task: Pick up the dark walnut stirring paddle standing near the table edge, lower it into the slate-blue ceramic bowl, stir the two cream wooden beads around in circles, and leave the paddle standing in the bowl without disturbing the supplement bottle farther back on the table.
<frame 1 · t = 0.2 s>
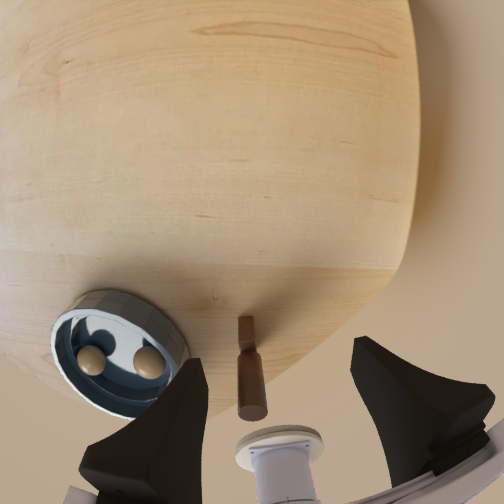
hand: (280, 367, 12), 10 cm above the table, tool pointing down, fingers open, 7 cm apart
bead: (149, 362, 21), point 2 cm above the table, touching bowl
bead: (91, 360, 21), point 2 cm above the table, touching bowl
stir paddle: (247, 333, 23), on the table
bowl: (125, 348, 23), on the table
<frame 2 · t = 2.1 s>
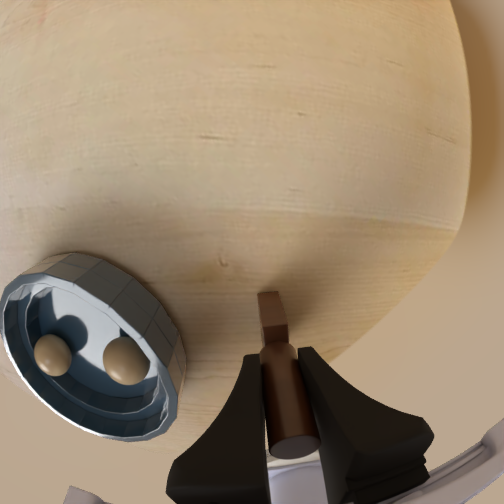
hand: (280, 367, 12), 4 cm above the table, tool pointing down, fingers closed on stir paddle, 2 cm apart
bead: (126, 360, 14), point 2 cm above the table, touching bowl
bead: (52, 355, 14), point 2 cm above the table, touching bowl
stir paddle: (269, 319, 16), on the table, touching gripper
bowl: (97, 341, 16), on the table
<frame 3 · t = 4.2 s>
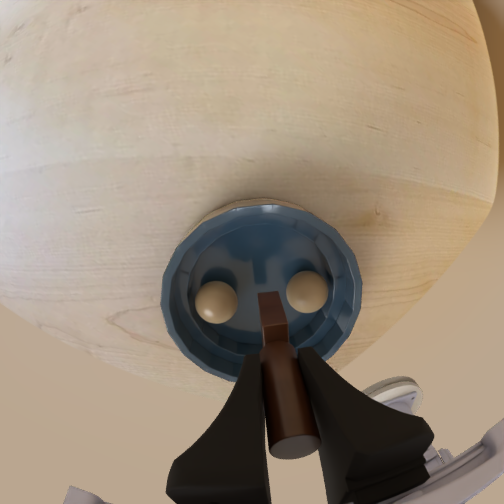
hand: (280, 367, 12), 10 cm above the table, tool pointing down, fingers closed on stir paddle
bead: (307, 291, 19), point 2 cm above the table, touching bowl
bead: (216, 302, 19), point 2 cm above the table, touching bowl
stir paddle: (269, 318, 16), point 5 cm above the table, touching gripper
bowl: (259, 285, 21), on the table
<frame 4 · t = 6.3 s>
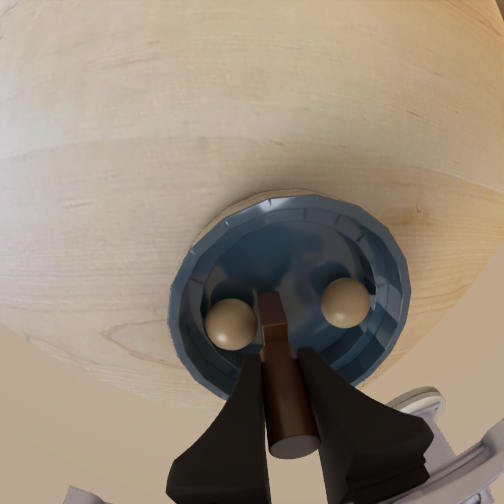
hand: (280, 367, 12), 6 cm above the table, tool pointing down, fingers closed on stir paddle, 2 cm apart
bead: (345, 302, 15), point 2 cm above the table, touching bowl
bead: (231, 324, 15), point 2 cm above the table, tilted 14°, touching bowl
stir paddle: (269, 318, 16), point 2 cm above the table, touching gripper
bowl: (286, 294, 17), on the table
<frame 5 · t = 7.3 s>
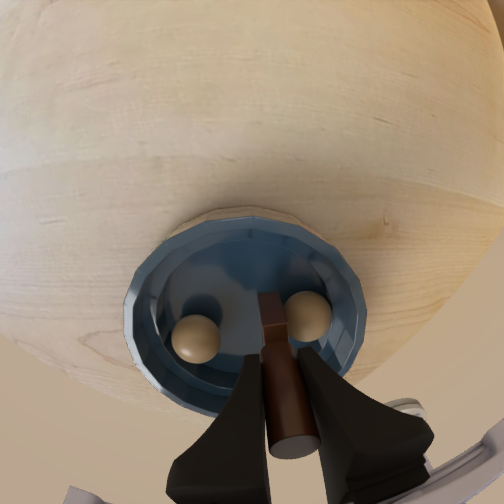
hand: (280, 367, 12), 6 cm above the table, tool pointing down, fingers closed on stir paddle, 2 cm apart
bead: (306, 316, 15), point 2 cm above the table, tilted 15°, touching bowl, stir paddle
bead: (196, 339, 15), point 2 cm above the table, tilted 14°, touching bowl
stir paddle: (269, 318, 16), point 2 cm above the table, touching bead, gripper
bowl: (244, 309, 17), on the table
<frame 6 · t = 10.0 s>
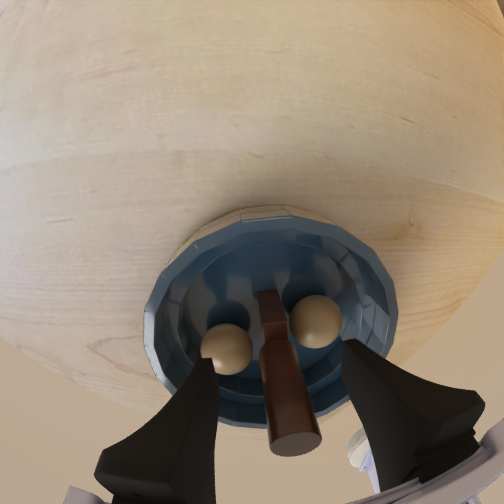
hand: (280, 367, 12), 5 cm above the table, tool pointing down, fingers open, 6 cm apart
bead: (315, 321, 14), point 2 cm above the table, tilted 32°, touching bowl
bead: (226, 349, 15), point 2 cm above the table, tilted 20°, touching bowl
stir paddle: (270, 317, 16), point 1 cm above the table, touching bowl
bowl: (269, 313, 16), on the table
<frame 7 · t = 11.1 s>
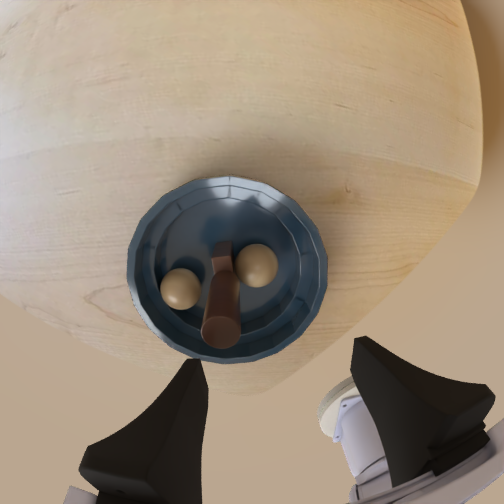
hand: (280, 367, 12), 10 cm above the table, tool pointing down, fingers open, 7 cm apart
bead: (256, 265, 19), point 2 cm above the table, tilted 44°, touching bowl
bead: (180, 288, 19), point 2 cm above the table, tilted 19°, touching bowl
stir paddle: (227, 264, 20), point 1 cm above the table, touching bowl
bowl: (227, 262, 21), on the table
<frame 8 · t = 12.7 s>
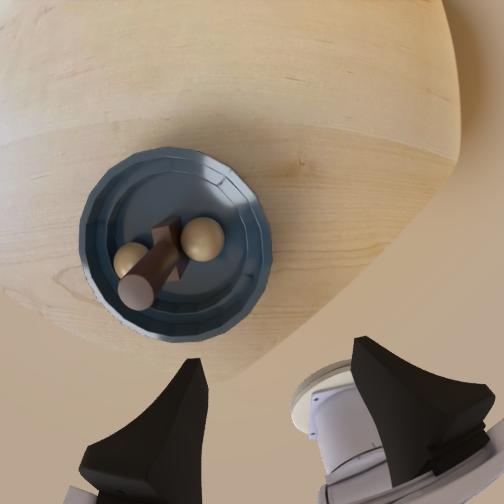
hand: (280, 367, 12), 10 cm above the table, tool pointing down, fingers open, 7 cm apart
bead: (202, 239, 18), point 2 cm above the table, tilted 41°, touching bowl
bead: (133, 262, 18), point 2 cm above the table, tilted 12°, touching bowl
stir paddle: (177, 240, 20), point 1 cm above the table, touching bowl
bowl: (178, 239, 20), on the table
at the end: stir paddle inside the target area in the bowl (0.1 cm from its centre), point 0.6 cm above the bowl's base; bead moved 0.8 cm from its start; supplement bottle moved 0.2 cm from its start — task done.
